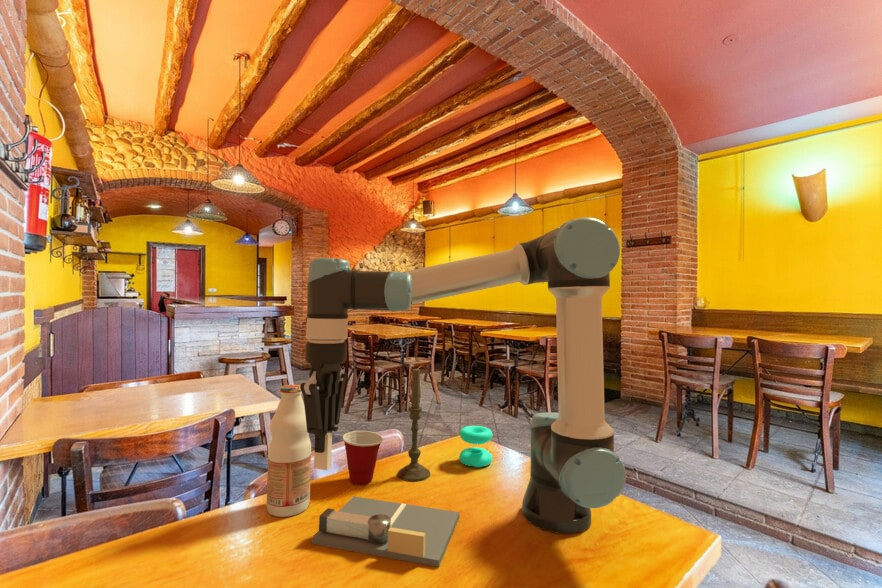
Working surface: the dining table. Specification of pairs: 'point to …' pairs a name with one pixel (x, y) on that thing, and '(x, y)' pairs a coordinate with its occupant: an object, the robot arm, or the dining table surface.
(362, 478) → the plastic cup
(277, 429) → the fruit juice
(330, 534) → the plate
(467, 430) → the donuts
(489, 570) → the dining table surface
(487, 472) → the dining table surface
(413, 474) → the candlestick holder
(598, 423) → the robot arm
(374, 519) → the lock bar
